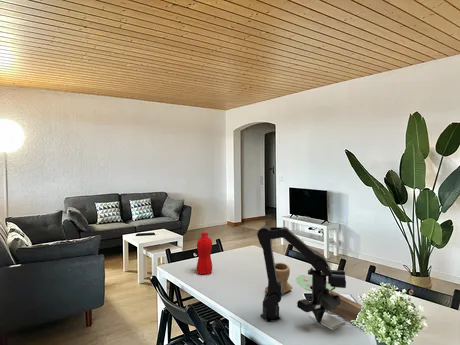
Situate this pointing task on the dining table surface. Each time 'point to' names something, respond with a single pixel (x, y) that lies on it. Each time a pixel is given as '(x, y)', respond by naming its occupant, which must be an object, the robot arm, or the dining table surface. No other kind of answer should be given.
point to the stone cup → (282, 276)
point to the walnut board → (346, 308)
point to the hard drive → (329, 321)
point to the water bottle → (204, 254)
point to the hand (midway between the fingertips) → (318, 322)
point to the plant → (308, 282)
